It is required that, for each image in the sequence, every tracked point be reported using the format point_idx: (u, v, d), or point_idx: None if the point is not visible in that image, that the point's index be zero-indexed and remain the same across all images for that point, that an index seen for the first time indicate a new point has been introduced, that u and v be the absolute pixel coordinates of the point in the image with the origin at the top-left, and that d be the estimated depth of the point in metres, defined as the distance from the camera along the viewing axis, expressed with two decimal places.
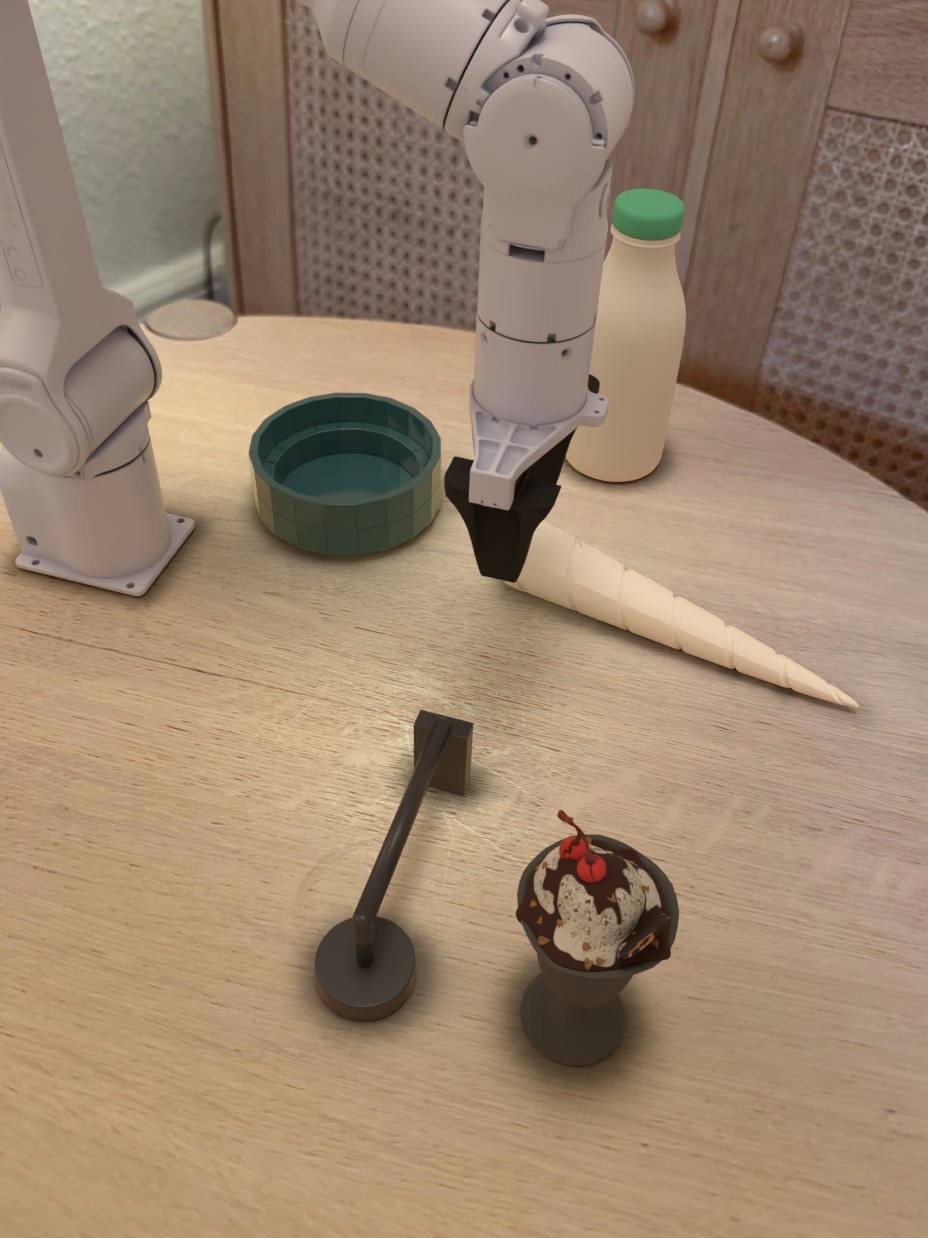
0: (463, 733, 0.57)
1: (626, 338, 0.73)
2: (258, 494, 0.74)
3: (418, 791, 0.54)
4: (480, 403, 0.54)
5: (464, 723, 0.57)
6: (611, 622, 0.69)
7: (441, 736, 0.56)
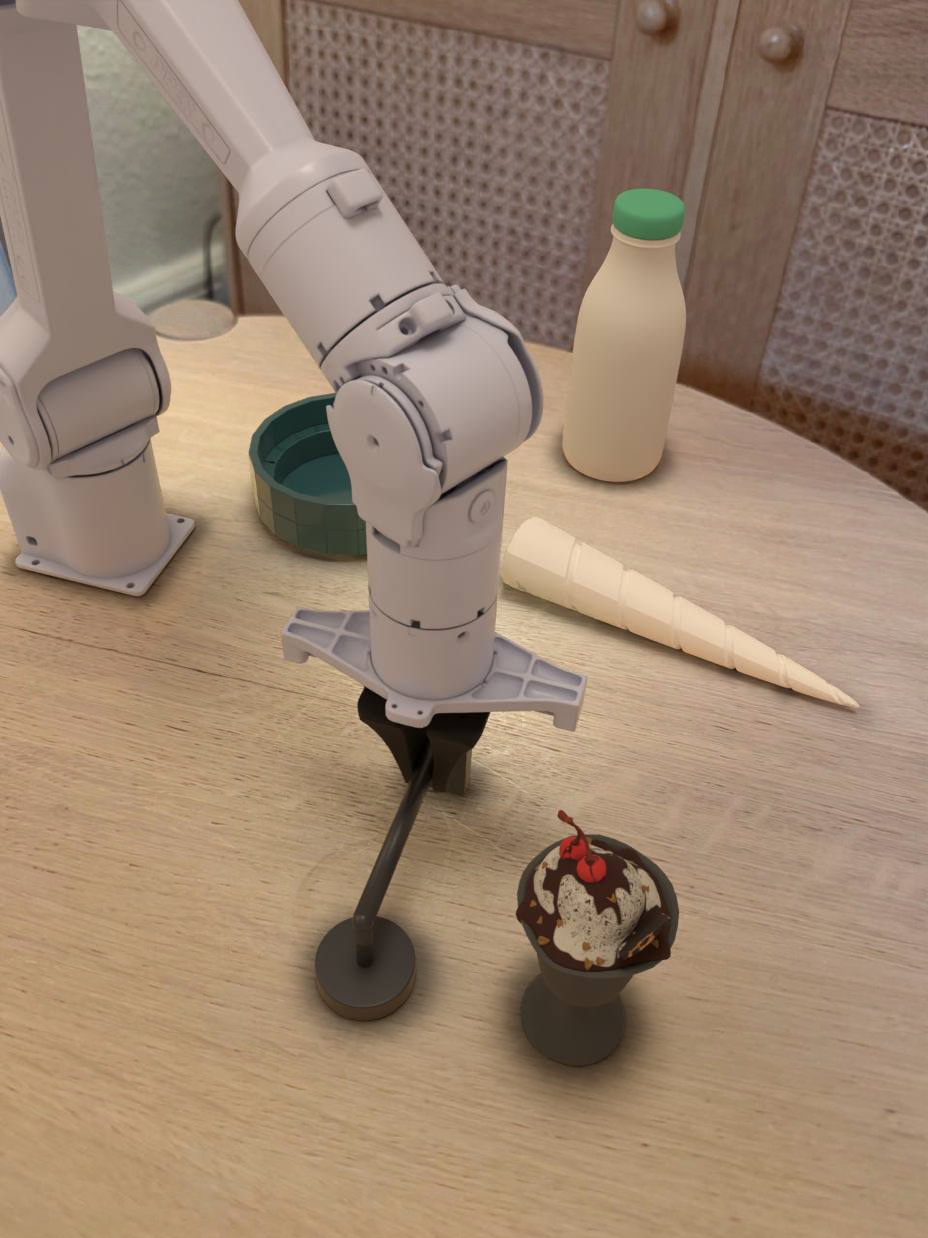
0: None
1: (626, 338, 0.73)
2: (258, 494, 0.74)
3: (418, 791, 0.54)
4: None
5: None
6: (611, 622, 0.69)
7: None
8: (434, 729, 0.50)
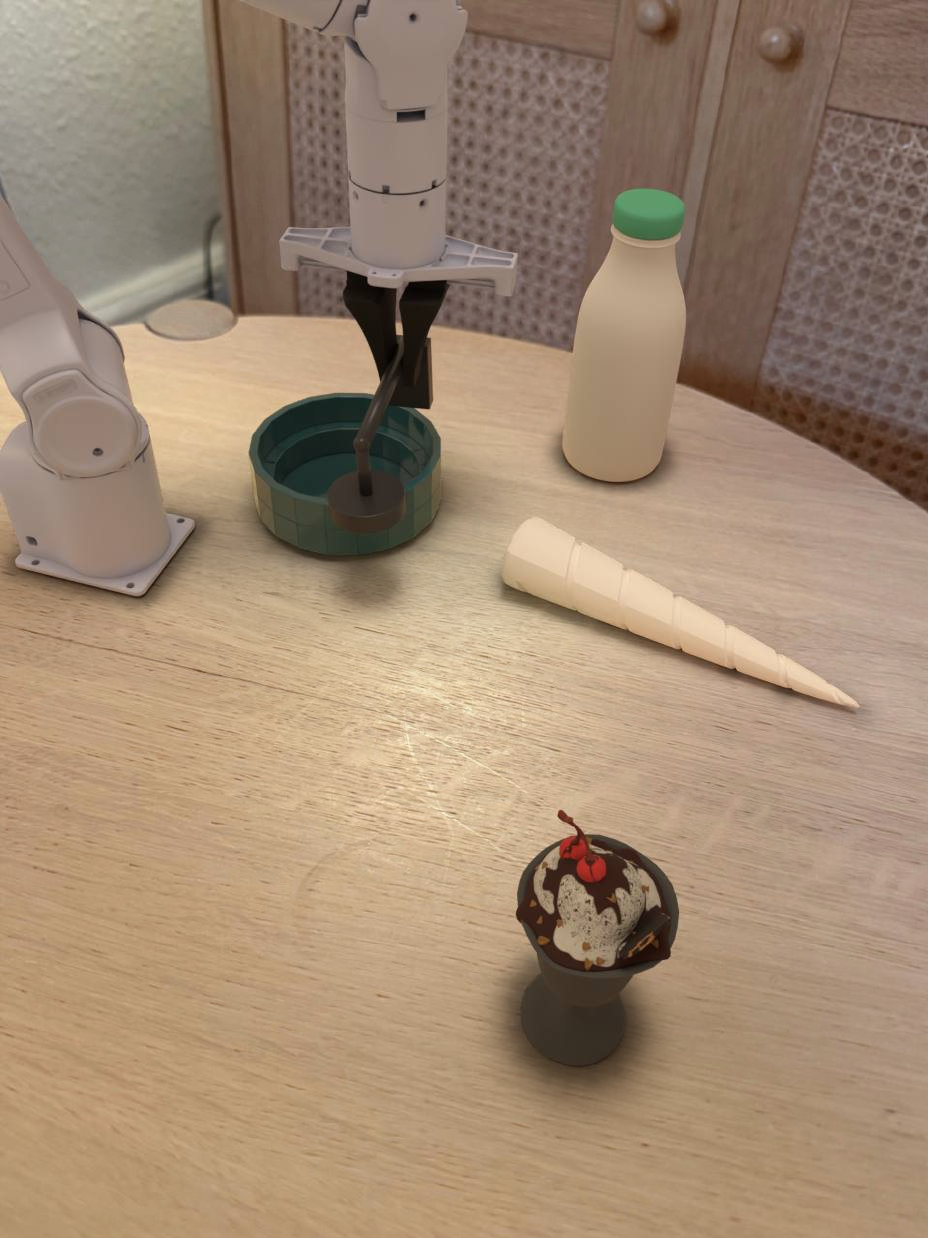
0: None
1: (626, 338, 0.73)
2: (258, 494, 0.74)
3: (393, 372, 0.69)
4: None
5: None
6: (611, 622, 0.69)
7: None
8: (404, 301, 0.65)
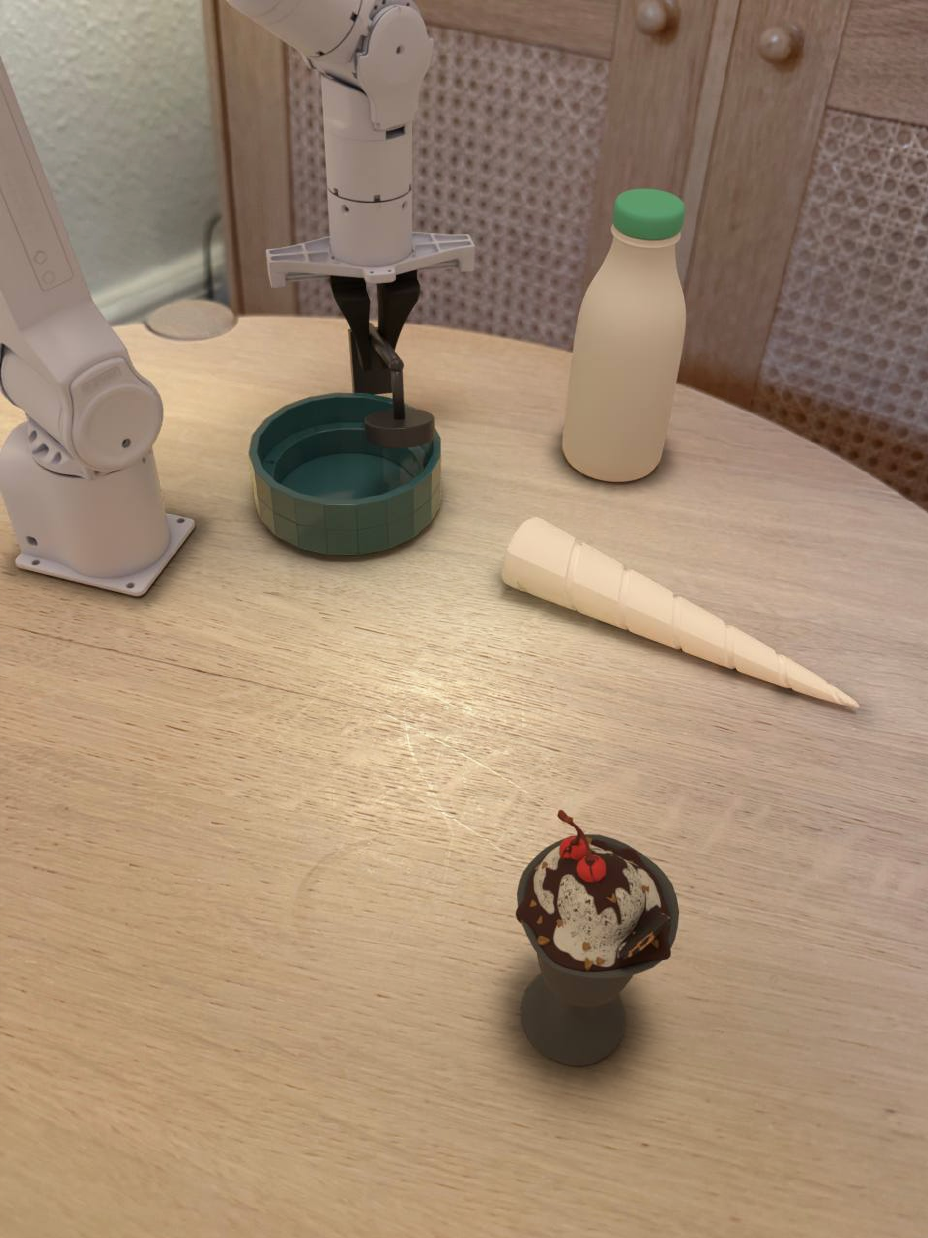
0: None
1: (626, 338, 0.73)
2: (258, 494, 0.74)
3: (381, 336, 0.79)
4: None
5: None
6: (611, 622, 0.69)
7: (373, 326, 0.82)
8: (392, 292, 0.75)
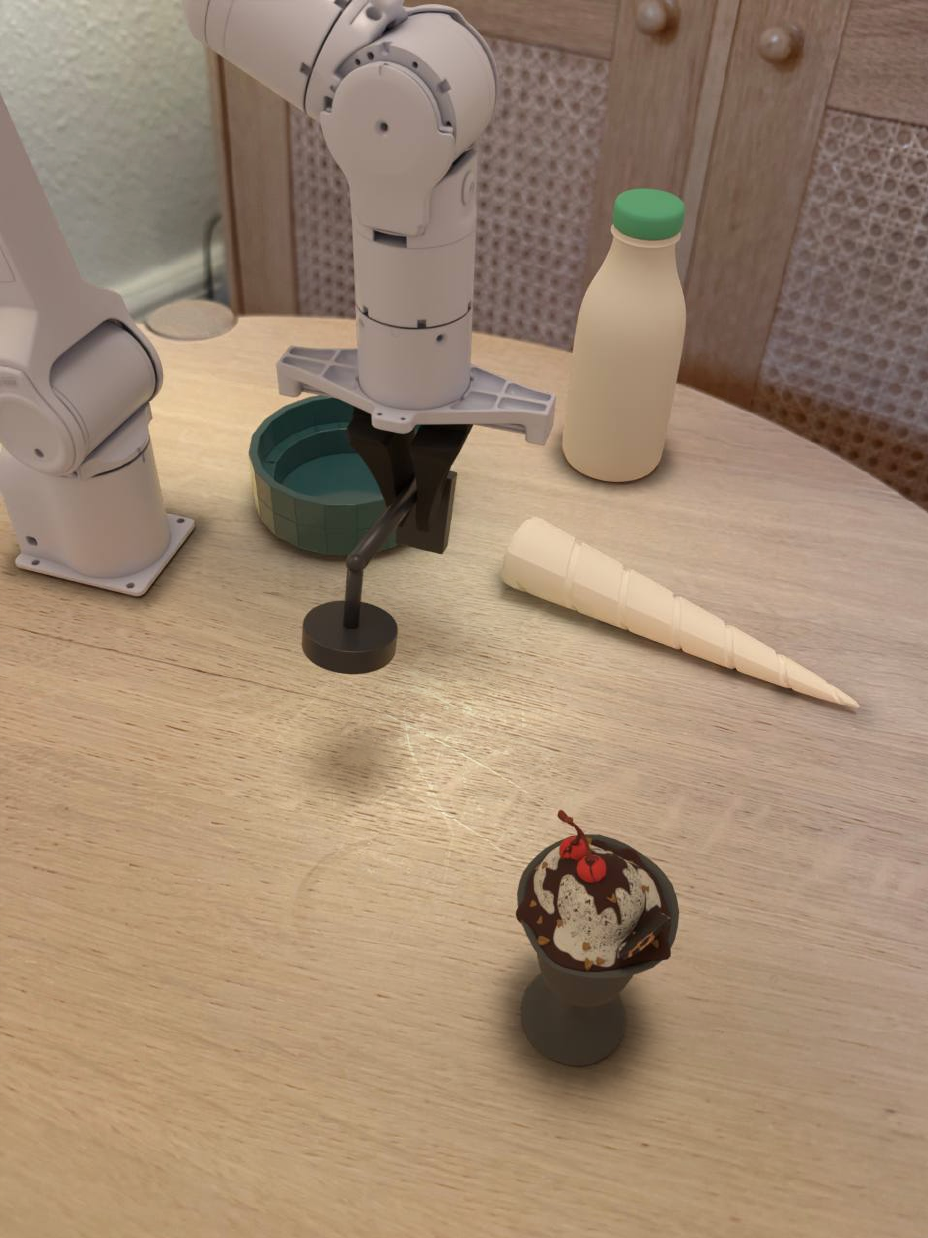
0: (448, 476, 0.62)
1: (626, 338, 0.73)
2: (258, 494, 0.74)
3: (408, 497, 0.58)
4: None
5: (449, 471, 0.63)
6: (611, 622, 0.69)
7: None
8: (416, 444, 0.55)
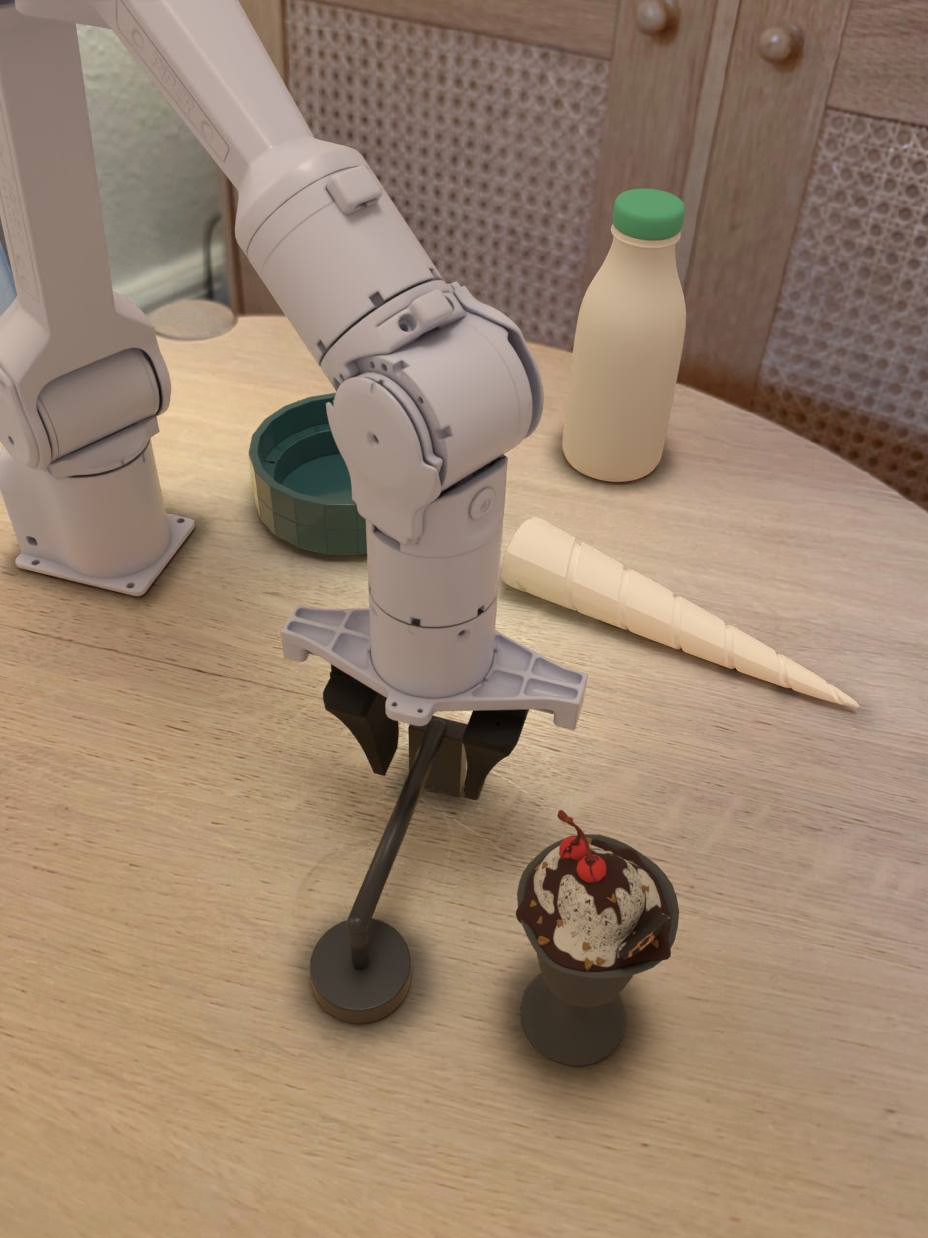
0: (458, 735, 0.57)
1: (626, 338, 0.73)
2: (258, 494, 0.74)
3: (413, 793, 0.54)
4: None
5: (459, 724, 0.57)
6: (611, 622, 0.69)
7: (436, 738, 0.56)
8: (470, 736, 0.50)
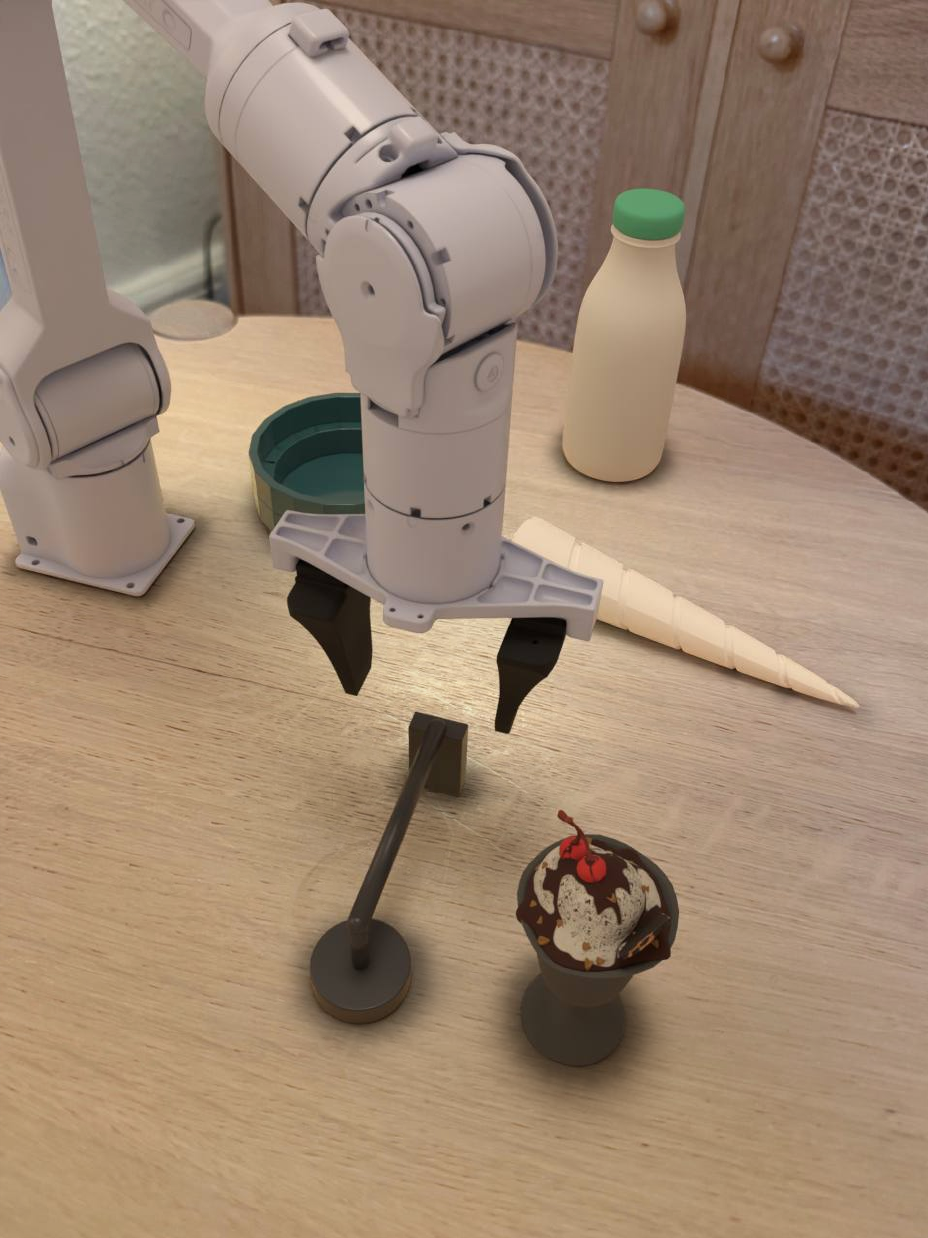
0: (458, 735, 0.57)
1: (626, 338, 0.73)
2: (258, 494, 0.74)
3: (413, 793, 0.54)
4: None
5: (459, 724, 0.57)
6: (611, 622, 0.69)
7: (436, 738, 0.56)
8: (505, 655, 0.45)
